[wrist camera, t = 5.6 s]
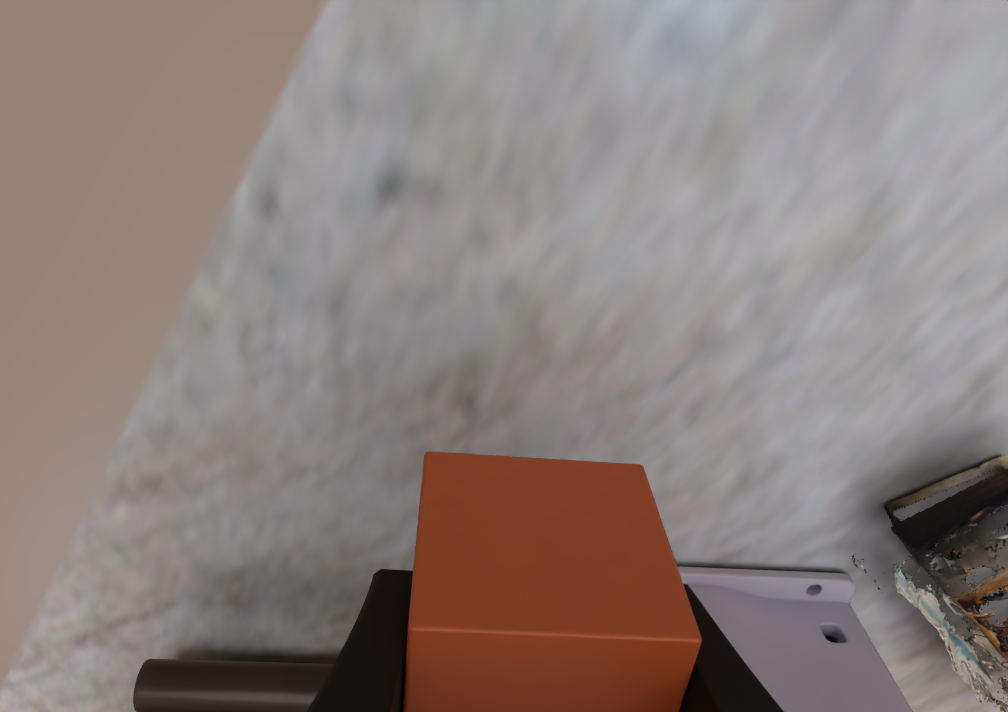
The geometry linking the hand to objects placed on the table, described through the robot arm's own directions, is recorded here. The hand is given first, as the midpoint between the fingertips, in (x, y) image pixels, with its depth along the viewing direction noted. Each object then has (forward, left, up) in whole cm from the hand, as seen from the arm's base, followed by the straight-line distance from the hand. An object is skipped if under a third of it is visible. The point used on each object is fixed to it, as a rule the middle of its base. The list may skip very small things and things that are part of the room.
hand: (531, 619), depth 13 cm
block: (0, 0, -2) cm, 2 cm away
